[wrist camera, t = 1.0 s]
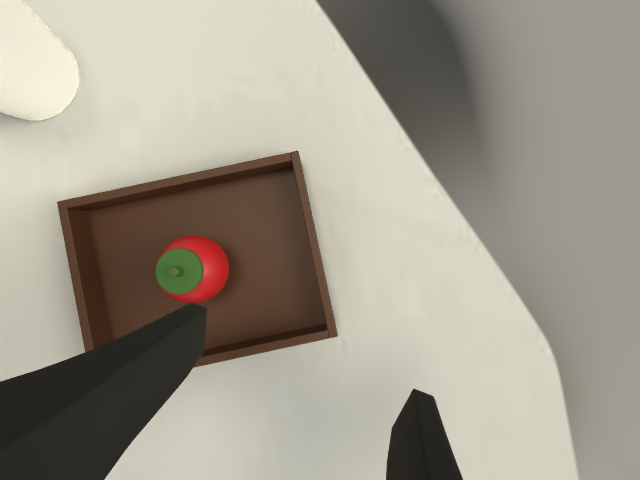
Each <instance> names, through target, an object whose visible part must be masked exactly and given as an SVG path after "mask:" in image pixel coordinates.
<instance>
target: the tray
mask: <svg viewBox="0 0 640 480" xmlns="http://www.w3.org/2000/svg"><path fill="white" fill-rule="evenodd" d="M57 203H58V209H59V214H60V219H61V225H62V230H63V235H64V241H65V246H66V251H67V257H68V262H69V267H70V273H71V278H72V283H73V289H74V294H75V299H76V305H77V310H78V315H79V321H80V326H81V331H82V337H83V342H84V347H85V352H87V351H90V350H92V349H95V348H97V347H99V346H101V345H104V344H106V343H108V342H111V341H113V340H115V339H118V338H120V337H122V336H124V335H126V334H128V333H130V332H132V331H135V330H137V329H139V328H141V327H143V326H145V325H147V324H149V323H151V322H153V321H155V320H157V319H159V318H161V317H163V316H165V315H167V314H169V313H171V312H173V311H175V310H177V309H179V308H181V307H183V306H185V305H187V304H189V303H183V302H179V301H177V300H175V299H173V298H171V297H170V296H168V295H167V294H166V293H165V292H164V291H163V290H162V288H161V286H160V285H159V283H158V281H157V278H156V265H157V261H158V258H159V256H160V254H161V252H162V251H163V250H164V248H165V247H166V246H167V245H168V244H170V243H171V242H172V241H174V240H176V239H178V238H180V237H184V236H189V235H199V236H204V237H207V238H209V239H211V240H213V241H215V242H216V243H217V244H219V245H220V246H221V248H222V249H223V250H224V252H225V253H226V256H227V258H228V262H229V275H228V278H227V281H226V283H225V285H224V287H223V288H222V289H221V290H220V292H219V293H218V294H216V295H215V296H214V297H212V298H210V299H209V300H206V301H203V302H200V303H195V304H198V305H200V306H203V307H205V308H207V322H206V335H205V349H204V352H203V353H202V355H201V356H200V358H199V359H198V361H197V362H196V364H195V366H194V367H198V366H202V365H207V364H212V363H216V362H221V361H226V360H230V359H235V358H240V357H244V356H249V355H254V354H258V353H263V352H268V351H272V350H277V349H282V348H286V347H291V346H295V345H300V344H305V343H309V342H314V341H319V340H323V339H328V338H333V337H337V336H338V335H337V330H336V325H335V320H334V316H333V311H332V306H331V302H330V297H329V292H328V287H327V283H326V278H325V273H324V269H323V264H322V259H321V255H320V250H319V245H318V241H317V236H316V231H315V226H314V222H313V217H312V212H311V208H310V203H309V198H308V194H307V189H306V184H305V180H304V175H303V170H302V165H301V161H300V156H299V152H298V151H295V152H291V153H286V154H281V155H276V156H271V157H267V158H262V159H257V160H252V161H248V162H243V163H238V164H234V165H229V166H224V167H219V168H215V169H210V170H205V171H200V172H196V173H191V174H186V175H182V176H177V177H172V178H167V179H163V180H158V181H153V182H148V183H144V184H139V185H134V186H130V187H125V188H120V189H115V190H111V191H106V192H101V193H97V194H92V195H87V196H82V197H78V198H73V199H68V200H63V201H58V202H57Z"/></svg>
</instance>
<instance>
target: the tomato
mask: <svg viewBox="0 0 640 480" xmlns="http://www.w3.org/2000/svg"><path fill="white" fill-rule="evenodd" d="M228 275H229V262H228V258H227V256H226V253H225V252H224V250H223V249H222V248H221V246H220V245H219V244H217V243H216V242H215V241H213V240H211V239H209V238H207V237H204V236H199V235H189V236H184V237H180V238H178V239H176V240H174V241H172V242H171V243H170V244H168V245H167V246H166V247H165V248H164V250H163V251H162V252H161V254H160V256H159V258H158V261H157V265H156V278H157V281H158V283H159V285H160V286H161V288H162V290H163V291H164V292H165V293H166V294H167V295H168V296H170V297H171V298H173V299H175V300H177V301H179V302H183V303H200V302H203V301H206V300H209V299H210V298H212V297H214V296H215V295H216V294H218V293H219V292H220V290H221V289H222V288H223V287H224V285H225V283H226V281H227V278H228Z"/></svg>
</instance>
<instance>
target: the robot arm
mask: <svg viewBox="0 0 640 480" xmlns="http://www.w3.org/2000/svg"><path fill="white" fill-rule="evenodd" d="M206 322H207V308H205V307H203V306H200V305H198V304H195V303H189V304H187V305H185V306H183V307H181V308H179V309H177V310H175V311H173V312H171V313H169V314H167V315H165V316H163V317H161V318H159V319H157V320H155V321H153V322H151V323H149V324H147V325H145V326H143V327H141V328H139V329H137V330H135V331H132V332H130V333H128V334H126V335H124V336H122V337H120V338H118V339H115V340H113V341H111V342H108V343H106V344H104V345H101V346H99V347H97V348H95V349H92V350H90V351H87V352H85V353H83V354H80V355H78V356H75V357H72V358H70V359H67V360H65V361H62V362H59V363H56V364H53V365H51V366H48V367H45V368H42V369H39V370H36V371H33V372H30V373H27V374H24V375H20V376H17V377H14V378H11V379H8V380H4V381H1V382H0V480H104V479H105V478H106V476H107V475H108V474H109V472H110V471H111V469H112V468H113V467H114V465H115V464H116V462H117V461H118V460H119V458H120V457H121V456H122V454H123V453H124V451H125V450H126V449H127V448H128V446H129V445H130V444H131V442H132V441H133V440H134V439H135V437H136V436H137V435H138V434H139V433H140V431H141V430H142V429H143V428H144V427H145V426H146V424H147V423H148V422H149V421H150V420H151V419H152V417H153V416H154V415H155V414H156V413H157V412H158V410H159V409H160V408H161V407H162V406H163V404H164V403H165V402H166V401H167V400H168V399H169V397H170V396H171V395H172V394H173V393H174V392H175V390H176V389H177V388H178V387H179V386H180V384H181V383H182V382H183V381H184V380H185V378H186V377H187V376H188V374H189V373H190V371H191V370H192V368H193V367H194V366H195V364H196V362H197V361H198V359H199V358H200V356H201V355H202V353H203V352H204V349H205V335H206ZM386 480H463V478H462V476H461V473H460V470H459V468H458V465H457V463H456V460H455V457H454V455H453V452H452V449H451V446H450V444H449V441H448V438H447V435H446V432H445V429H444V426H443V423H442V420H441V417H440V414H439V411H438V408H437V405H436V402H435V399H434V397H433V396H431V395H429V394H426V393H424V392H421V391H418V390H416V389H413V391H412V392H411V394H410V396H409V398H408V400H407V401H406V403H405V405H404V407H403V409H402V411H401V412H400V414H399V416H398V418H397V420H396V422H395V423H394V425H393V427H392V432H391V438H390V445H389V452H388V459H387V472H386Z"/></svg>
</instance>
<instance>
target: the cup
mask: <svg viewBox="0 0 640 480" xmlns="http://www.w3.org/2000/svg"><path fill="white" fill-rule="evenodd" d="M78 86H79V68H78V65H77V62H76V60H75V58H74V56H73V54H72V53H71V52H70V51H69V49H68V48H67V47H66V46H65V45H64V44H63V43H62V42H61V41H60V40H59V39H58V38H57V37H56V36H55V35H54V34H53V33H52V31H51V30H50V29H49V28H48V27H47V26H46V25H45V24H44V23H43V22H42V21H41V20H40V19H39V18H38V17H37V16H36V15H35V14H34V12H33V11H32V10H31V9H30V8H29V7H28V6H27V5H26V4H25V3H24V2H23V1H22V0H0V112H1V113H4V114H8V115H11V116H15V117H18V118H22V119H26V120H32V121H39V120H45V119H49V118H52V117H54V116H56V115H58V114H59V113H61V112H62V111H64V110H65V109H66V108H67V107H68V106H69V105H70V103H71V102H72V100H73V99H74V97H75V95H76V93H77V90H78Z"/></svg>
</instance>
